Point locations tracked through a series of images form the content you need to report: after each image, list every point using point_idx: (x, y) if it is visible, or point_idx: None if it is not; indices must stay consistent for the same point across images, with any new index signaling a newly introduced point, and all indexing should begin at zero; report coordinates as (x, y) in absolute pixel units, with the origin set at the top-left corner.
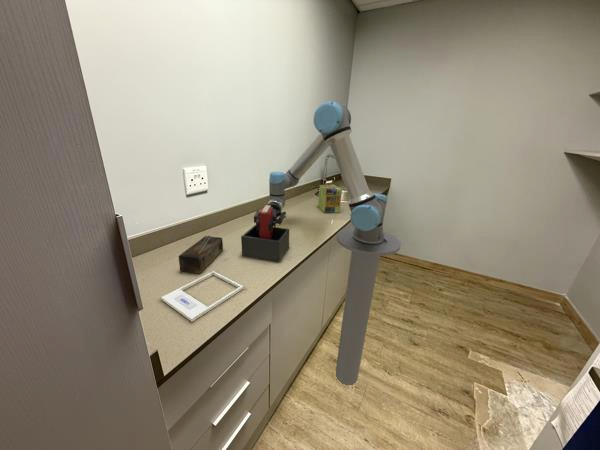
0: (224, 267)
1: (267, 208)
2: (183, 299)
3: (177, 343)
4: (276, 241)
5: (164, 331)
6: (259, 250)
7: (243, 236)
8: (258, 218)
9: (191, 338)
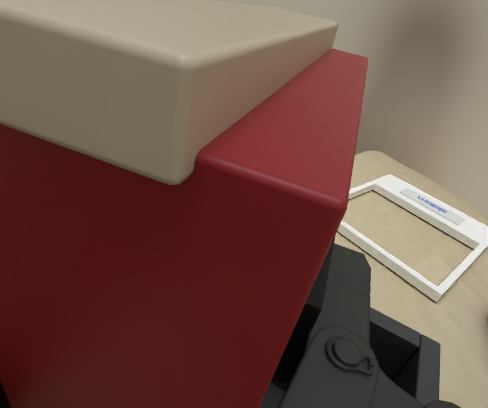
0: None
1: (229, 6)
2: (440, 210)
3: (386, 163)
4: None
5: (420, 182)
6: None
7: (418, 334)
8: (351, 341)
9: (371, 163)
